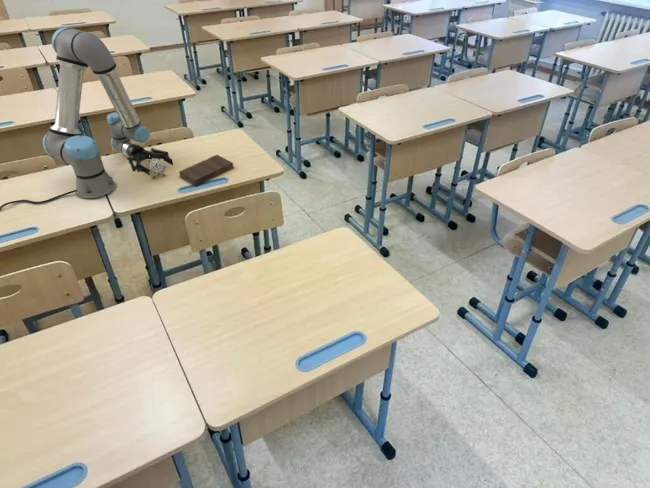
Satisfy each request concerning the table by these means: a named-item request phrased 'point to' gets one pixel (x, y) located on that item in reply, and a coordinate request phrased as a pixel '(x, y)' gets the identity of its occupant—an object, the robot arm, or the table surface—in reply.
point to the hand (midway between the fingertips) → (160, 167)
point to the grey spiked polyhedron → (156, 168)
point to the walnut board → (206, 170)
